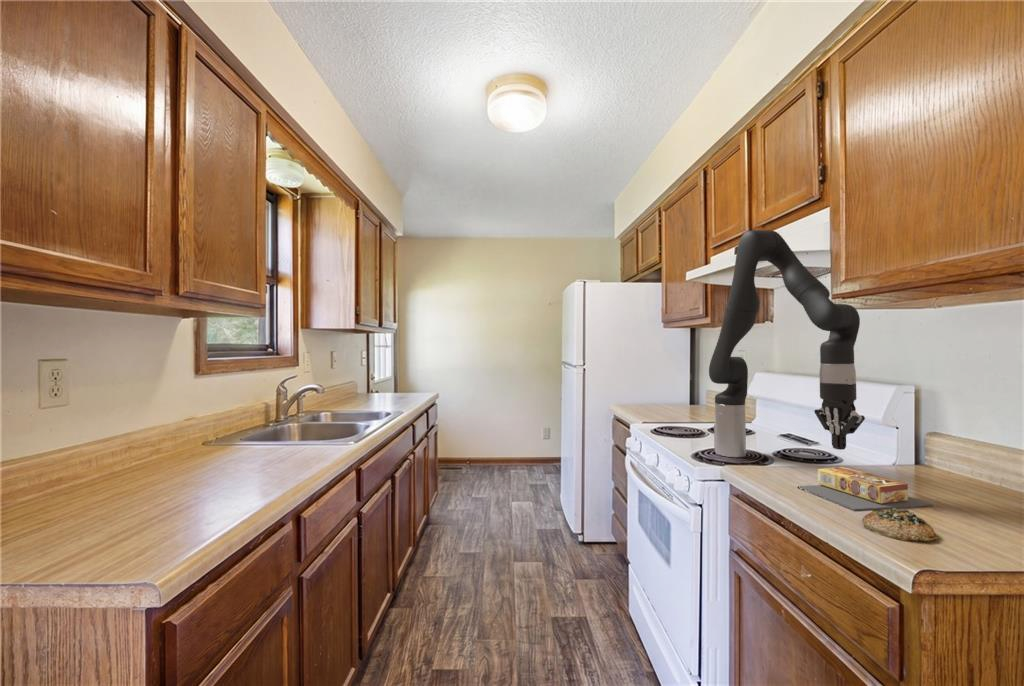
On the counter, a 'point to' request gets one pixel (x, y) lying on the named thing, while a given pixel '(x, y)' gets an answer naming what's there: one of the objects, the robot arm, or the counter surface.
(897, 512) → the bread roll
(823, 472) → the candy box
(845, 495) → the rubber mat
